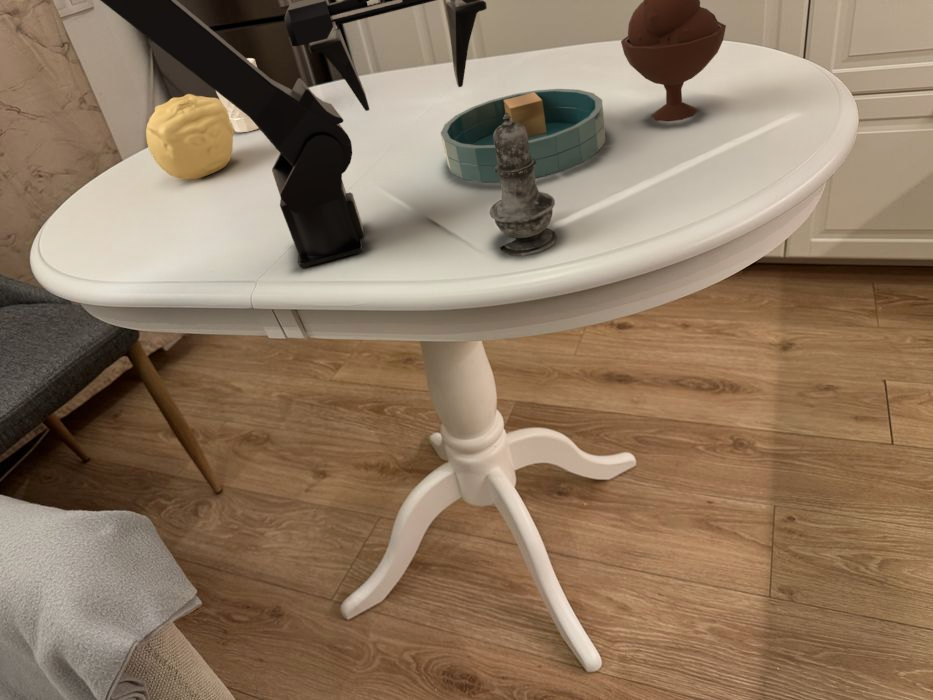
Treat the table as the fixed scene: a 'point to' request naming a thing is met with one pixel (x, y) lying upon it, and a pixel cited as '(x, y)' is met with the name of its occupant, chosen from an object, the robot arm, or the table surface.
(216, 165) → the sculpture
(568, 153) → the bowl
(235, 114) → the white cup
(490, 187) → the table surface
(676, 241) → the table surface
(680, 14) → the ice cream bowl
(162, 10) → the robot arm
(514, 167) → the salt shaker
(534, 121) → the block
